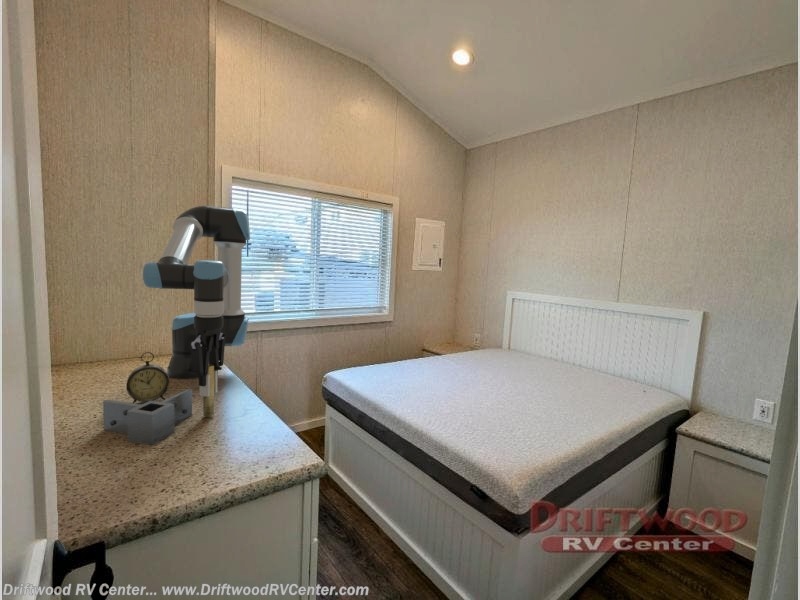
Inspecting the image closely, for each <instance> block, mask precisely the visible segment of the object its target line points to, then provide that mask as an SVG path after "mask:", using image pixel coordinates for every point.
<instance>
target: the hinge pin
mask: <svg viewBox="0 0 800 600" xmlns="http://www.w3.org/2000/svg"><path fill="white" fill-rule="evenodd" d="M208 374H210V396H209V397H206V396H202V398H203V399H202V400H203V401H202V405H203V407H202V408H203V409H202V411H203V412H202V416H203V417H206V418H209V417H212V416H214V415H215V392H214V365H213V364H209V365H208Z"/></svg>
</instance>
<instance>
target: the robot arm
mask: <svg viewBox="0 0 800 600" xmlns="http://www.w3.org/2000/svg"><path fill="white" fill-rule="evenodd" d="M172 229H173V230H172V231H173V232H172V233H171V236H170V238H169V240H168V242H167V244H166V246H165V247H164V249H163V252H162V254H161V256H160V258H159V260H158V262H156V261H153V262H147V263H145V264H144V266H143V267H142V268H143V269H142V280H143V284H144V285H145V287H147V288H148V289H149V288H152V289H160V290H164V289H167V290H168V289H169V290H171V289H172V290H173V289H174V290H193V292H194V293H193V309H194V310H193V312H189V313H184V314H181V315H177V316H175V317H174V318H173V319H172V323H171V324H172V326H171V330H172V331H171V335H172V336H171V340H172V341H171V345H172V346H171V347H172V354H171V358H170V359H169V360H170V361H169V363H168V367H166V368H167V370H166V372H167V374H168V378H172V379H194V378H198V385H199V396H200V397H203V396H206V397H209V396H210V374H208V365H209V364H213V365H214V394H215V393H217V392H218V379H219V371H221V370H222V369H223V366H224V363H225V362H224V361H225V360H224V359H225V347H231V348H232V347H241V346H243V345H244V344H245V342H246V337H247V332H248V327H249V316H248V317H247V316H245V315H246V313H245V311H244V310H243V309H242V306H241V305H242V265H243V264H242V263H243V261H242V260H243V259H242V254H243V253H242V252H243V251H242V250H243V248H244V247H245V246H247V241H250V239H251V230H250V222H249V217H248V213H247V211H246V210H245V209H239V208H234V207H233V208H231V207H221V206H209V205H199V206H194V207H192V208H190V209H187V210H185V211H184V212H182V213H181V214H179V216H178V217H176V218H175V221H174V223H173V226H172ZM203 237H205V238H212V239H213V243H214V244H215V246H216V247H217V260H209V259H206V260H205V259H202V260H200V259H199V260H196V261H194V264H190V263H189V261H190V258H191V256H192V254H193V251H194V248H195V247H196V243H197V241H199V240H200V239H201V238H203ZM188 263H189V264H188Z"/></svg>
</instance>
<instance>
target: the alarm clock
mask: <svg viewBox="0 0 800 600" xmlns="http://www.w3.org/2000/svg"><path fill="white" fill-rule="evenodd" d="M145 354H150V355H151V356H152V358H151V360H146V361H145V360H144V359H143V356H144V355H145ZM140 359H141V361H142V362H143V363H145V364H143V365H141V366H138V367H137V368H135V369H134V370H133V371H132V372H130V374H129V375H128V377H127V380H126V387H125V388H126V392H127V394H128V395H129V397H131V398H132V399H133V401H132V403H134V404H136V403H137V402H142V403H146V402H148V401H150V400H151V401H157V399H160V398H161V399H162V401H163V400H166V399H167V398H165V397H164V394H165V393H166V392H167V390H168V388H169V386H170V380H169V379H170V377H169V376H168V374H167V370H166V369H165V368H163V367H161V366H160V365H157V364H150V363H151V362H153V360H154V359H155V355H154V354H153V353H152V352H151V351H146V352H143V353H142V354H141V356H140Z"/></svg>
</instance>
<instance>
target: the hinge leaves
mask: <svg viewBox="0 0 800 600" xmlns="http://www.w3.org/2000/svg"><path fill="white" fill-rule="evenodd" d="M165 399H166V400H163V399H162V401H157V400H153V401H151V400H150V401H148V402H143V403H141V404H140V403H133V402H126V401H119V400H113V399H106V400H103V401H102V406H103V407H102V408H103V409H102V410H103V430H104V431H109V432H114V433H119V434H126V435H127V441H128V442H131V443H136V444H142V445H149V446H154V445H156V444H158V443H159V442H161V441H162V440H164V439H166V438H168V437H169V436H171V435H172V434H174V433H175V426H176V425H178V424H179V423H181V422H183V421H185V420H186V419H188V418H189V417H191V416H193V389H192V388H186V389H185V390H183V391H181V392H178V393H176V394H174V395H172V396H170V397H168V398H165Z"/></svg>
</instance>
